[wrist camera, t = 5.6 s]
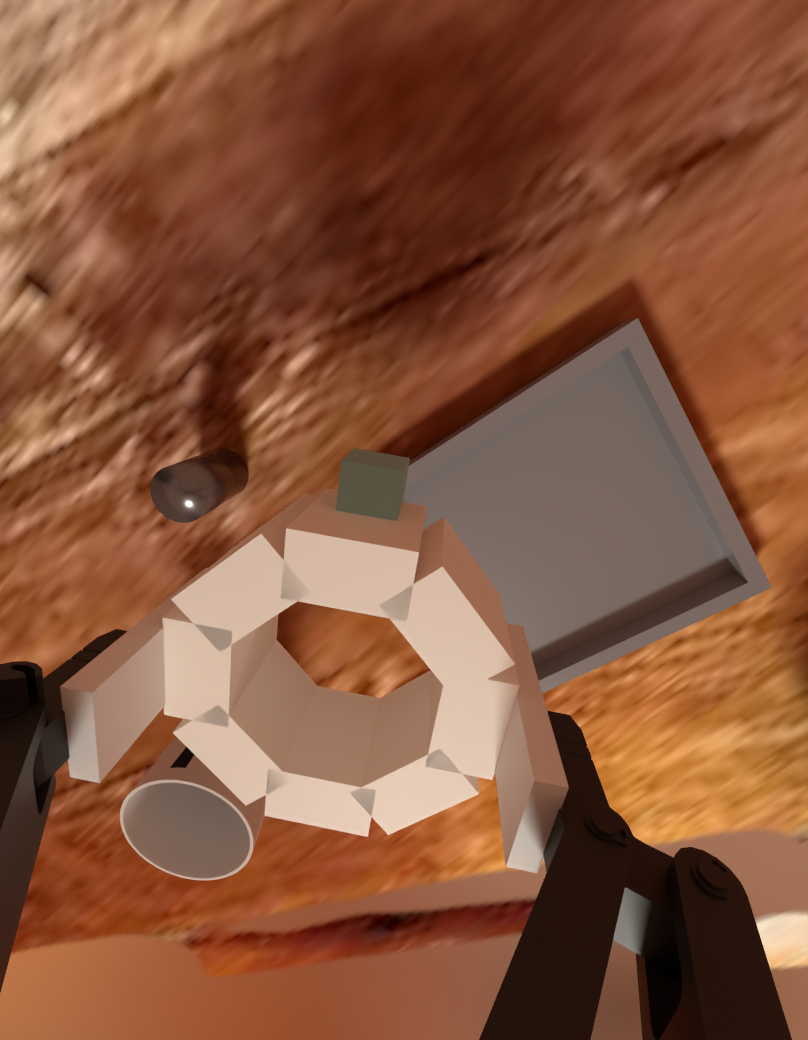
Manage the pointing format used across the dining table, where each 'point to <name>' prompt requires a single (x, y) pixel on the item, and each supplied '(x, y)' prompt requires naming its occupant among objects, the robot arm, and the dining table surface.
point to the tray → (591, 508)
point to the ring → (333, 713)
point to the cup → (189, 818)
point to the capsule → (198, 484)
